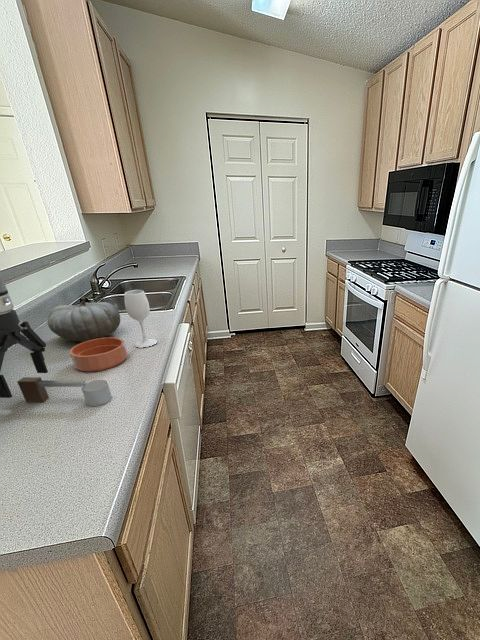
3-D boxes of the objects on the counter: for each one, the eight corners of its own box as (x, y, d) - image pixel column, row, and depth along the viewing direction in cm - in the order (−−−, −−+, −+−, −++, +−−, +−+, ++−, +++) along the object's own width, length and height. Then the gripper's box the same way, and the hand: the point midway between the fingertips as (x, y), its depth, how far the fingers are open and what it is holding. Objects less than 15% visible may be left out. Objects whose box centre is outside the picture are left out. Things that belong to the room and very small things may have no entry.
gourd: (93, 346, 124) (76, 300, 119) (40, 351, 130) (22, 308, 124) (136, 329, 147) (123, 290, 142) (90, 334, 153) (76, 297, 147)
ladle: (116, 394, 99) (109, 373, 95) (104, 406, 93) (97, 385, 90) (37, 394, 99) (28, 373, 96) (20, 406, 93) (11, 385, 90)
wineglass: (134, 349, 127) (120, 296, 118) (134, 341, 134) (121, 290, 125) (158, 345, 130) (147, 293, 121) (157, 338, 138) (146, 288, 128)
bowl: (64, 372, 111) (58, 356, 108) (92, 352, 126) (87, 337, 123) (113, 372, 111) (108, 356, 108) (135, 351, 126) (132, 337, 123)
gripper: (-34, 329, 73) (3, 409, 82) (45, 298, 95) (67, 364, 105) (-68, 329, 73) (-28, 409, 82) (19, 298, 95) (43, 363, 105)
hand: (25, 384), depth 94 cm, fingers open, 13 cm apart
